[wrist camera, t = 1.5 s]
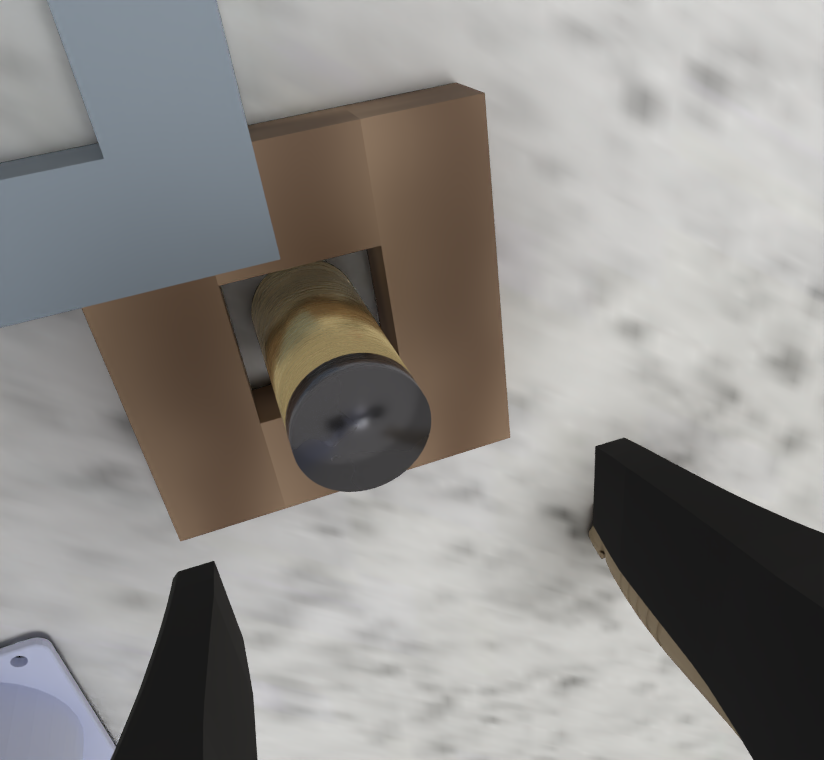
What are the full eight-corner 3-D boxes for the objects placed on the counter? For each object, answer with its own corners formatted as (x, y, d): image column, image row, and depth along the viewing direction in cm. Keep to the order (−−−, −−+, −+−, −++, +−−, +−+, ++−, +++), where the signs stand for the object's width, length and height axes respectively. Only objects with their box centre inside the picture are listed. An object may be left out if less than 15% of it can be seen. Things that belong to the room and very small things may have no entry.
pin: (265, 368, 22) (308, 509, 16) (239, 273, 20) (276, 393, 15) (364, 341, 23) (438, 467, 17) (345, 247, 21) (421, 352, 15)
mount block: (177, 501, 23) (180, 541, 22) (41, 167, 18) (31, 187, 16) (486, 407, 26) (510, 437, 24) (456, 82, 20) (484, 92, 18)
